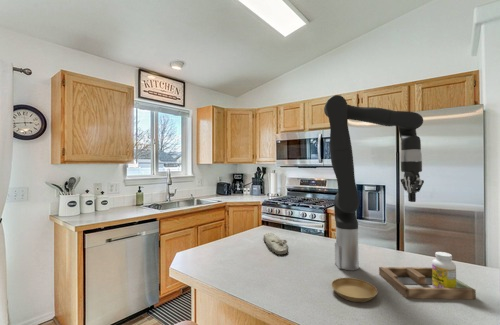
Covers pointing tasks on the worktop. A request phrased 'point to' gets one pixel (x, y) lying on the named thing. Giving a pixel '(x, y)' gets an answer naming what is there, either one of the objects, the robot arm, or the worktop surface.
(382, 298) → the worktop surface
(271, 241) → the elongated rock
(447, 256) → the supplement bottle
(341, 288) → the plant saucer
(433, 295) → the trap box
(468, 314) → the worktop surface
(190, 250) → the worktop surface
